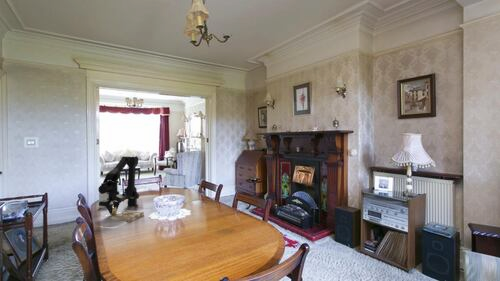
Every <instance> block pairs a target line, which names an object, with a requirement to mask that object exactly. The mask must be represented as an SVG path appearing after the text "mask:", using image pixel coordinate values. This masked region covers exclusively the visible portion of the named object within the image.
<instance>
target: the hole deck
mask: <svg viewBox="0 0 500 281" xmlns="http://www.w3.org/2000/svg"><path fill="white" fill-rule="evenodd" d="M144 216H145V211H140V210H139V211H138V210H124V211H122V212H121V213H119V214H117V215H114V216H112V217H111V218H110V219H111V220H114V221H115V220H116V221H125V222H126V223H130V222H133V221H134V220H137V219H139V218H141V217H144Z"/></svg>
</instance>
